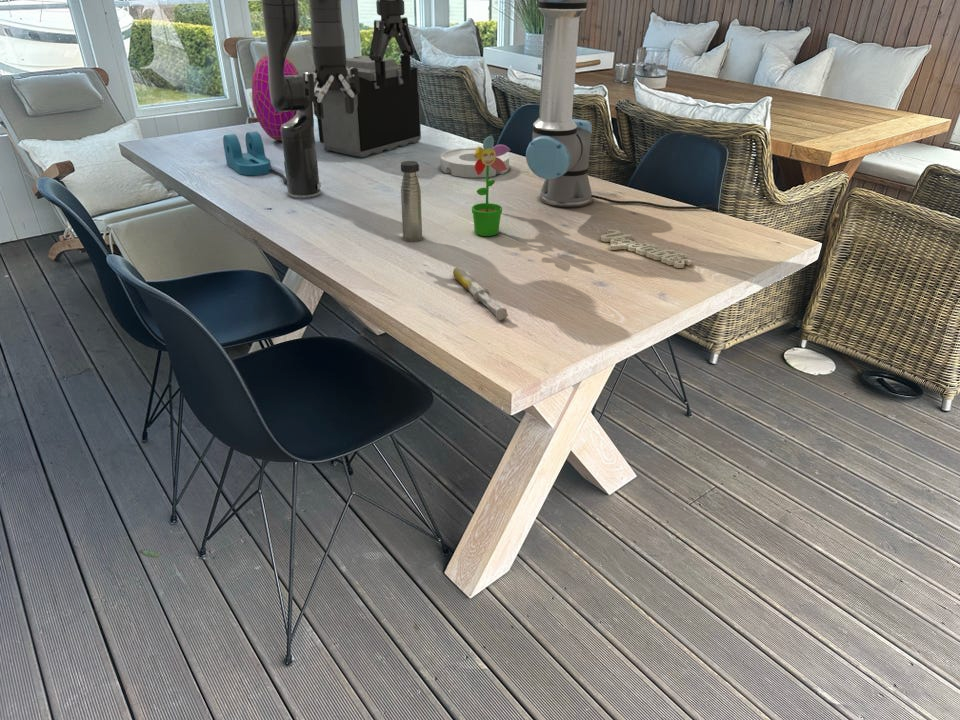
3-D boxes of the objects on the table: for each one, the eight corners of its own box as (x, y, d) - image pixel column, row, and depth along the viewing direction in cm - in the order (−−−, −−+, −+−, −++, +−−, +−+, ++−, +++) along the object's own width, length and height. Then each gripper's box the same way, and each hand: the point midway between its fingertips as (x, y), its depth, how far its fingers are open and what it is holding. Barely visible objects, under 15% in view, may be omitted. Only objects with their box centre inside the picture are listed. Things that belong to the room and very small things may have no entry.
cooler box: (383, 133, 276) (378, 52, 261) (425, 141, 265) (422, 56, 250) (314, 150, 251) (304, 61, 235) (358, 160, 240) (350, 67, 224)
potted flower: (478, 239, 174) (479, 138, 161) (464, 230, 180) (464, 131, 167) (510, 234, 178) (514, 134, 165) (496, 224, 184) (498, 128, 171)
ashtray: (443, 158, 243) (443, 147, 241) (508, 159, 242) (508, 148, 240) (437, 176, 223) (437, 164, 221) (508, 178, 222) (509, 165, 220)
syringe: (449, 274, 155) (449, 263, 153) (465, 272, 156) (464, 260, 154) (490, 323, 135) (491, 310, 133) (508, 319, 136) (508, 307, 134)
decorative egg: (293, 132, 276) (283, 50, 261) (319, 140, 264) (310, 56, 249) (249, 139, 265) (236, 54, 250) (273, 148, 253) (261, 60, 238)
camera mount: (227, 164, 233) (221, 132, 227) (257, 160, 238) (252, 129, 233) (244, 176, 220) (239, 143, 215) (276, 172, 225) (271, 139, 220)
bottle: (426, 237, 175) (423, 164, 166) (413, 243, 172) (410, 168, 162) (411, 233, 178) (408, 161, 168) (399, 238, 174) (395, 165, 165)
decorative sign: (586, 237, 174) (611, 228, 179) (586, 240, 174) (611, 231, 180) (674, 268, 157) (698, 257, 162) (673, 272, 157) (698, 261, 163)
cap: (422, 170, 166) (422, 162, 166) (410, 174, 163) (410, 166, 162) (409, 167, 169) (408, 159, 168) (397, 171, 166) (396, 163, 165)
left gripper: (344, 39, 165) (350, 109, 173) (292, 43, 156) (301, 117, 165) (363, 42, 161) (368, 114, 169) (311, 46, 152) (318, 122, 160)
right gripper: (401, -4, 196) (405, 76, 206) (351, 0, 176) (358, 88, 187) (424, -3, 193) (427, 78, 204) (376, 1, 173) (382, 90, 184)
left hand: (334, 115), depth 167 cm, fingers open, 8 cm apart
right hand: (394, 83), depth 195 cm, fingers open, 13 cm apart
